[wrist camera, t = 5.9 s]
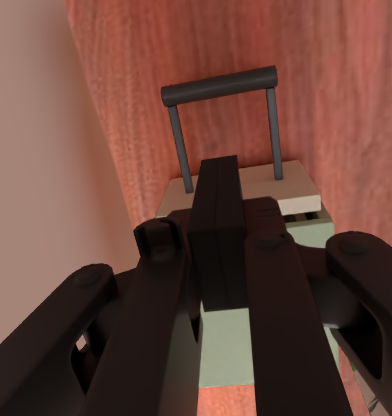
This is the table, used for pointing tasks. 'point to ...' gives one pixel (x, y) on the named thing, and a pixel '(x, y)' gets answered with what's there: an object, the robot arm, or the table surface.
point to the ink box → (369, 396)
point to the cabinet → (239, 319)
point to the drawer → (250, 177)
